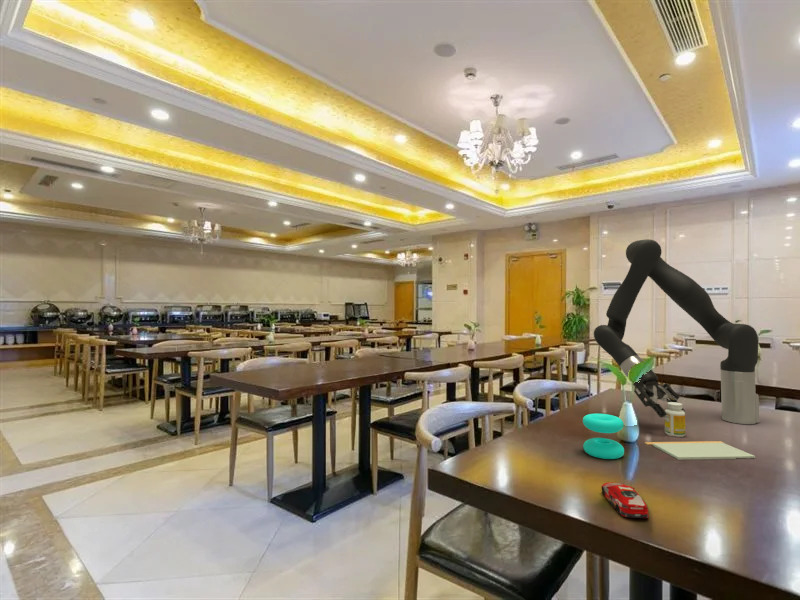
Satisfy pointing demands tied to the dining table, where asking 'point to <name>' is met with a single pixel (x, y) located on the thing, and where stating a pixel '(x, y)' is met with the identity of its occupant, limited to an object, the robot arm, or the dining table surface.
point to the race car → (625, 500)
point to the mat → (702, 451)
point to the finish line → (683, 442)
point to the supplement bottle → (675, 420)
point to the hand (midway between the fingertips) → (673, 414)
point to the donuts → (603, 445)
